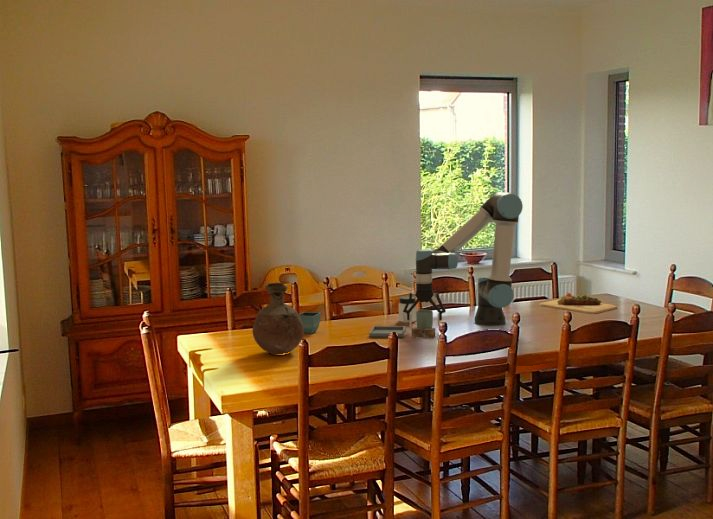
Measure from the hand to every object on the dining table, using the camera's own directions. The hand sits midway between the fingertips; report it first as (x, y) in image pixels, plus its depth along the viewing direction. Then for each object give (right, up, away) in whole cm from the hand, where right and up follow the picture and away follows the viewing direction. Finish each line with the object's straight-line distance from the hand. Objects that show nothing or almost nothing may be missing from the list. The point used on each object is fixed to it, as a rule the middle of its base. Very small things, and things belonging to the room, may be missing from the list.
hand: (424, 327), depth 362 cm
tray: (-17, -3, -2) cm, 18 cm away
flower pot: (-55, -3, +5) cm, 55 cm away
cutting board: (+87, +6, +53) cm, 102 cm away
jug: (-65, -8, -34) cm, 74 cm away
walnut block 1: (-4, -4, -9) cm, 11 cm away
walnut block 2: (+2, -4, -11) cm, 12 cm away
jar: (-6, +1, +26) cm, 27 cm away
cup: (0, -2, 0) cm, 2 cm away
